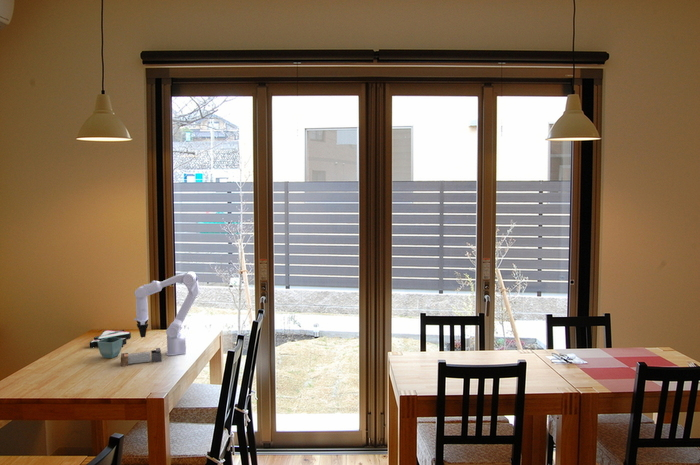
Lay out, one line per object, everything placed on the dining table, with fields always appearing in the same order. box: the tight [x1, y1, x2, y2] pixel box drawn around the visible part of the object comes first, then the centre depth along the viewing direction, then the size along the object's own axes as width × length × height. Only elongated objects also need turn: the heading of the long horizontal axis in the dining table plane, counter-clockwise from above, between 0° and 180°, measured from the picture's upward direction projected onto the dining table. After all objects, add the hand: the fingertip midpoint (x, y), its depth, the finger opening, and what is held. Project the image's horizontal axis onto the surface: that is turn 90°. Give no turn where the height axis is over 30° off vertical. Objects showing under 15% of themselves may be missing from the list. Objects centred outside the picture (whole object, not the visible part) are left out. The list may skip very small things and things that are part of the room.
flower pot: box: [97, 337, 123, 359], centre depth 274 cm, size 9×9×9 cm
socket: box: [120, 352, 129, 367], centre depth 262 cm, size 3×7×4 cm, turn 22°
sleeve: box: [150, 347, 162, 363], centre depth 268 cm, size 4×6×5 cm
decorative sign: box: [89, 329, 132, 349], centre depth 302 cm, size 18×4×30 cm
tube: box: [124, 351, 151, 365], centre depth 264 cm, size 12×4×4 cm, turn 112°
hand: (142, 335), depth 276 cm, fingers open, 7 cm apart
